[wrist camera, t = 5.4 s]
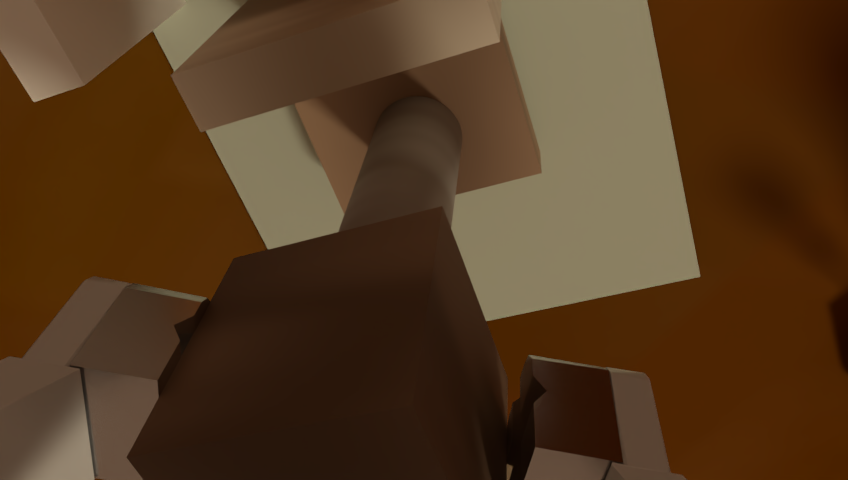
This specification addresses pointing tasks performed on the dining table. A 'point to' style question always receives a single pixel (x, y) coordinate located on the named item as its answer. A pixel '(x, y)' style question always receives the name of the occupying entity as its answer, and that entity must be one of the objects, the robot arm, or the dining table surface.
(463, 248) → the mat
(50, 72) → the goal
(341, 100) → the kicker sled
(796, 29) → the dining table surface
